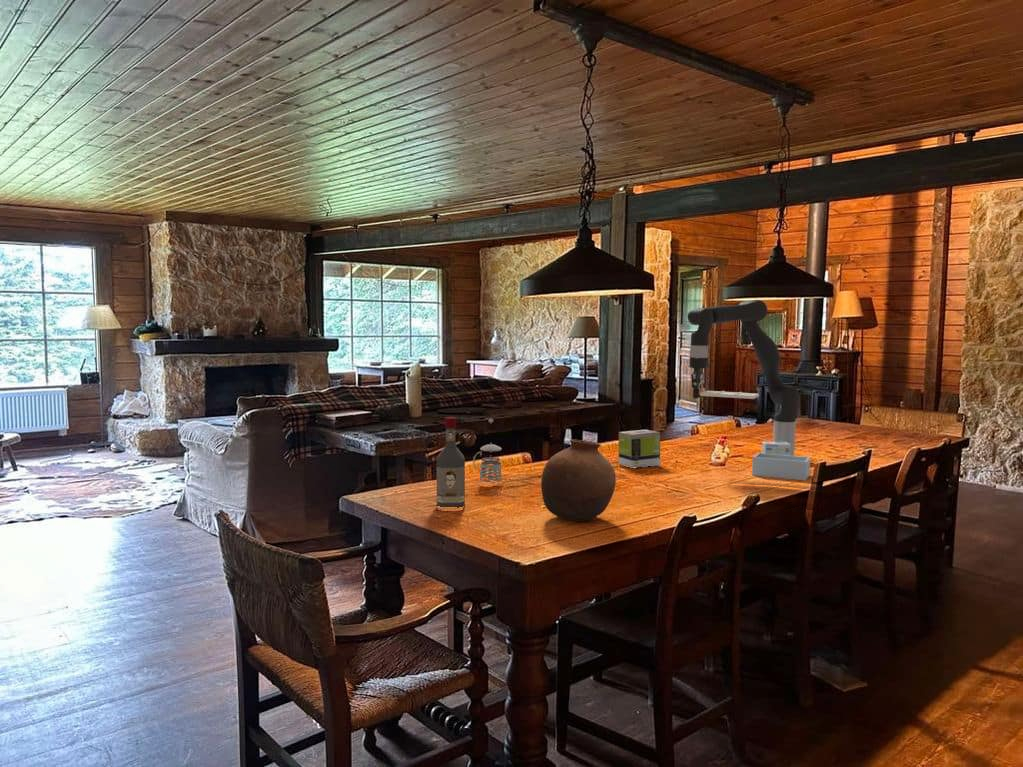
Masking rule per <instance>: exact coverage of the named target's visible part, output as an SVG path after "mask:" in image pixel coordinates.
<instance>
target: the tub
mask: <svg viewBox="0 0 1023 767" xmlns="http://www.w3.org/2000/svg"><path fill="white" fill-rule="evenodd" d="M751 469H752V473H751V475H752V476H755V477H756V476H758V477H767V478H774V479H775V478H777V479H787V480H788V479H789V480H795V481H796V480H797V481H798V480H799V481H807V479H809V477H810V476H811V475H810V474H811V473H810V472H811V470H810V469H811V457H810V456H798V455H794V456H789V455H777V454H765V453H762V452H757V453H756V454H755V455H754V456H752V468H751Z"/></svg>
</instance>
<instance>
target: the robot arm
mask: <svg viewBox="0 0 1023 767" xmlns="http://www.w3.org/2000/svg"><path fill="white" fill-rule="evenodd" d="M767 314H768V306H767V304H766V303H765V301H763V300H760V299H751V300H744V301H742V302H740V303H739V304H736V305H735V304H731V305H719V306H718V305H717V306H712V307H694V308H691V310H689V312H688V314H687V321H688V322H689V323H690V325H691V324H692V325H693V326H698V327H697V330H695V331H694V330H693V331H692V332H691V334H690V346H689V347H690V348H689V360H688V361H689V362H688V367H689V368H690V369H693V372H692V373H691V376H690V377H691V388H693V394H692V398H693V399H699V398H702V397H703V396H700V395H699V388H704V385H705V377H706V376H705V375H706V372H704V369H708V368H709V337H710V333H711V330H712V326H713V324H722V323H729V322H734V321H740V322H741V324H742V327H743V329H745V332H746V334H747V336H748V338H749V340H750V343H751V345H752V347H753V350H754V353H755V355H756V358H757V361H758V363H759V365H760V367H761V370H762V373H763V375H764V379H765V381H766V385H767V388H768V393H769V397H770V399H771V401H772V402H773V403H774V404H775V405H779V406H781V407H780V410H779V412H777V413H775V414H773V431H772V432H773V436H772V438H773V439H772V442H788V443H789V444H791V454H790V456H795V451H796V450H795V449H796V447H795V446H796V422H797V420H796V419H797V416H798V414H799V413H798V412H799V405H800V404H799V403H800V393H799V389H797V387H796V386H793V385H785V384H784V383H783V381H782V377H781V374H780V366H781V355H780V352H779V350H778V347H777V345H776V343H775V342H774V340H773V339H772V338H771V337H770V336H769V335H767V333H766V332H764V331H763V330H762V328H761V327H760V325H759V323H758V322H761V321H762V320H764V319H765V318H766V317H767Z"/></svg>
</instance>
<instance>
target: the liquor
mask: <svg viewBox="0 0 1023 767" xmlns="http://www.w3.org/2000/svg"><path fill="white" fill-rule="evenodd" d="M444 428H445V445H444V448H443V449H442V450H441V451H440V452H439V453H438V455H437V458H436V507H437V506H440V507H457V508H459V507H463V506H465V507H466V491H465V490H466V485H465V484H466V483H465V482H466V470H465V469H466V462H465V461H466V460H465V459H466V458H465V456H464V454H463V453H462V452H461V451H460V449H459V448H458V447H457V443H456V428H457V417H455V416H447V417H444Z"/></svg>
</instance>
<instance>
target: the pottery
mask: <svg viewBox="0 0 1023 767" xmlns="http://www.w3.org/2000/svg"><path fill="white" fill-rule="evenodd" d="M569 441H570V444H571V446H569V447H567V448H565V449H563V450H561V451H559V452H557V453H555V454H554V455H553V456H551V457H550V458H549V459H548V461H547V462H546V463H545V465H544V467H543V470H542V474H541V483H540V485H541V486H540V488H541V495H542V501H543V504H544V506H545V508H546V509H547V511H549V512H550V513H551V514H553V515H555V516H556V517H559V518H561V519H565V520H569V521H574V520H575V522H576V521H577V522H585V521H590V520H592V519H594V518H596V517H598V516H601V515H602V514H603V513H604V511H605V510H606V509H607V507H608V506H609V503H610V502H611V500H612V498H613V495H614V493H615V489H616V480H617V478H616V477H617V476H616V472H615V469H614V467H613V465H612V463H610V461H609V460H608V459H607V458H606V457H605V456H604V455H603V454H601V453H600V451H599V450H598V449H599V448H600V447H601V446H602V444H601V443H599V442H594V441H587V440H583V439H580V440H579V439H573V438H570V439H569Z"/></svg>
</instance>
